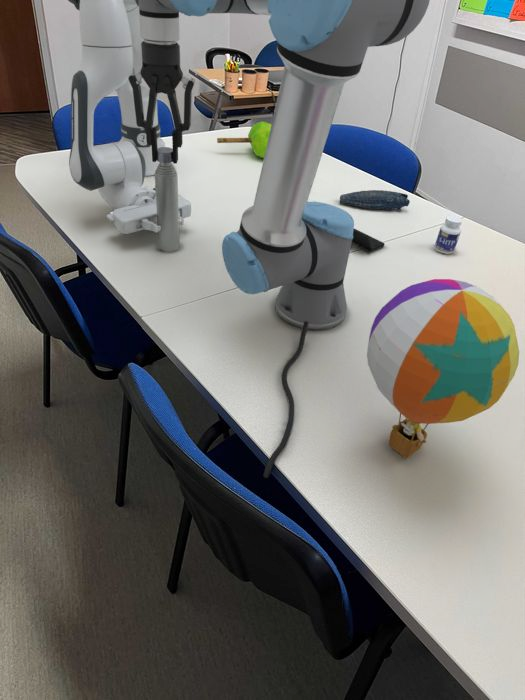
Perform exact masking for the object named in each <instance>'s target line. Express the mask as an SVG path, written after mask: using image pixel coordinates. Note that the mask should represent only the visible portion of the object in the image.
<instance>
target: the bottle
mask: <svg viewBox="0 0 525 700" xmlns="http://www.w3.org/2000/svg"><path fill="white" fill-rule="evenodd" d="M154 186H155V187H154V188H155V190H156V207H157V223H159V224H160V225H161V231H160V232H157V240H158V241H157V243H158V249H159V250H160V251H162V252H164V253H173V252H176V251H178V250H179V249H180V226H179V212H178V195H179V183H178V171H177V170H176V167H175V166H174V163H173V162H171V163H161V162H160V163H159V165H158V166H157V168H156V170H155V175H154Z"/></svg>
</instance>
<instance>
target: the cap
mask: <svg viewBox="0 0 525 700" xmlns="http://www.w3.org/2000/svg"><path fill="white" fill-rule="evenodd" d="M156 160H157V161H158V162H161V163H171V162H172V163H173V147H167V146H165V147H160V148H157V149H156Z"/></svg>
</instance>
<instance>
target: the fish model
mask: <svg viewBox="0 0 525 700" xmlns="http://www.w3.org/2000/svg"><path fill="white" fill-rule="evenodd" d="M410 202H411V201H410V200H409V195H408V194H406V193H403V192H402V193H401V192H399V191H392V190H382V189H380V190H379V189H377V190H376V189H368V190H360V191H352V192H348V193H344V194H341V195H340V196H339V203H343V204H346V205H349V206H351V207H357V208H362V209H371V210H372V209H374V210H384V211H385V210H386V211H391V210H394V209H397V210H402V208H404V207H408V206H409V205H410Z"/></svg>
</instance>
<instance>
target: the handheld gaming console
mask: <svg viewBox="0 0 525 700" xmlns="http://www.w3.org/2000/svg"><path fill="white" fill-rule="evenodd" d="M351 244H354V245H356V246H358V247H359V248H361V249H363V250H365V251H367V252H368V253H372V252H375V251H377V250H379V249H381V248H384V247H385V243H384V242H383V241H380V240H379V239H378V238H375V237H372V236H370V235H368V234H366V233H365V232H363V231H360V230H359V229H356V228H354V230H353V239H352V243H351Z"/></svg>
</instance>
